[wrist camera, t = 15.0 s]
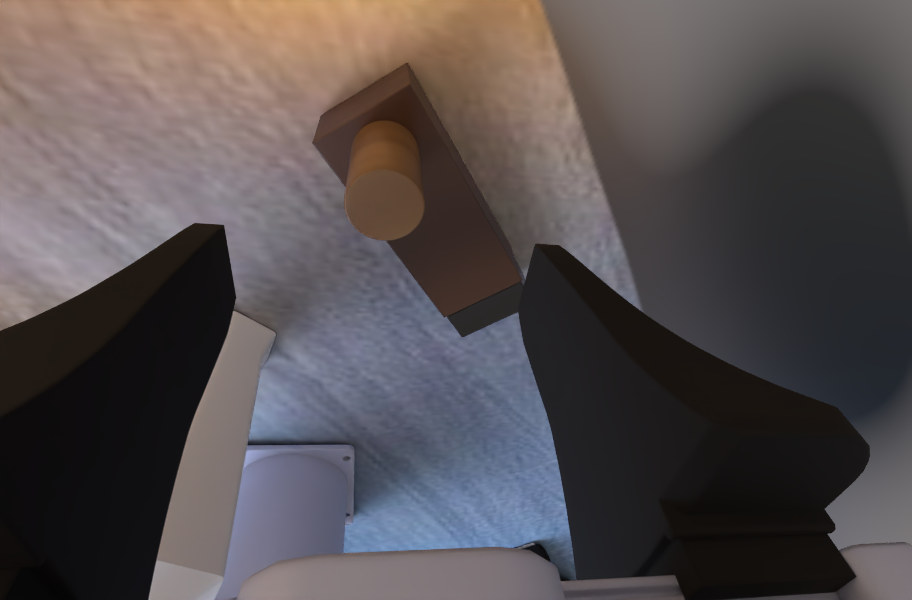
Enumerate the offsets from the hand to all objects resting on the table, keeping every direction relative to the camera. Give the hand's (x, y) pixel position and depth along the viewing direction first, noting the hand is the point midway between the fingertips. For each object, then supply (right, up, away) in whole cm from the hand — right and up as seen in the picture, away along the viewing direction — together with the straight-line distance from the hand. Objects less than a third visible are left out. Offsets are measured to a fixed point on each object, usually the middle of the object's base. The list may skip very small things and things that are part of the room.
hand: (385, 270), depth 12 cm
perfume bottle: (-10, -3, +14) cm, 18 cm away
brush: (+1, +4, +11) cm, 11 cm away
